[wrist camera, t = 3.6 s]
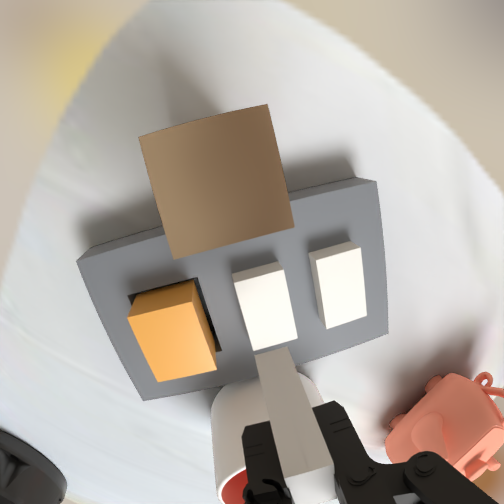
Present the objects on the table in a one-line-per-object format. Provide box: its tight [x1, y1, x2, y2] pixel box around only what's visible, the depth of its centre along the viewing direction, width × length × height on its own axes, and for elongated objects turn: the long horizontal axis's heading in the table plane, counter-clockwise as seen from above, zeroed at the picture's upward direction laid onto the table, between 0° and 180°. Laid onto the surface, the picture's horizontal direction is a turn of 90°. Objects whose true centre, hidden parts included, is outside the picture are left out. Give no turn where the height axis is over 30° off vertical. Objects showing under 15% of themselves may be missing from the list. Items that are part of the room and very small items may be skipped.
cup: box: [211, 373, 325, 504], centre depth 23 cm, size 10×10×10 cm
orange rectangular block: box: [127, 279, 217, 382], centre depth 20 cm, size 4×5×3 cm
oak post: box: [139, 104, 295, 260], centre depth 15 cm, size 4×4×12 cm
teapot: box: [385, 372, 504, 481], centre depth 26 cm, size 15×17×13 cm
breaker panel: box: [76, 177, 388, 401], centre depth 22 cm, size 20×12×4 cm, turn 103°
